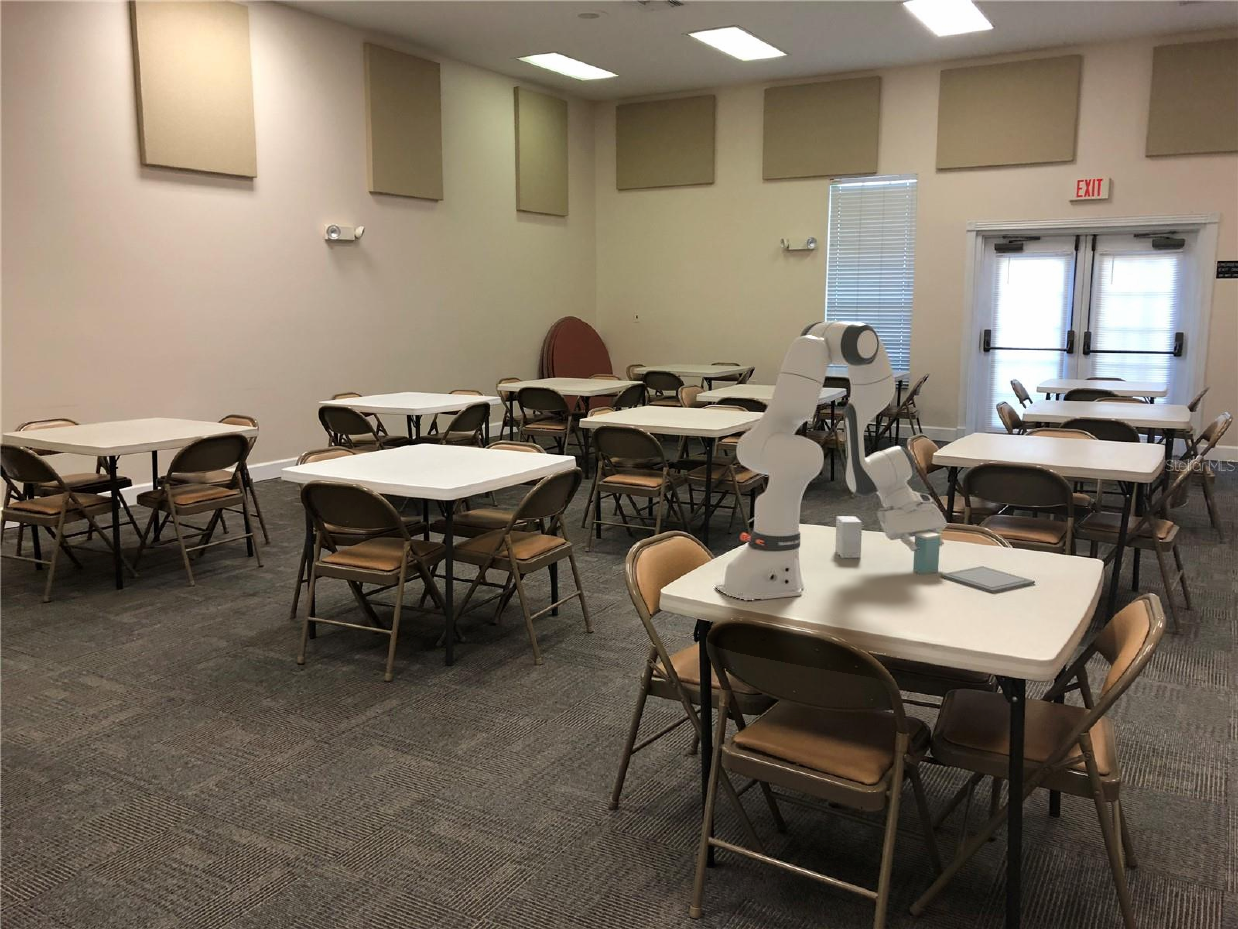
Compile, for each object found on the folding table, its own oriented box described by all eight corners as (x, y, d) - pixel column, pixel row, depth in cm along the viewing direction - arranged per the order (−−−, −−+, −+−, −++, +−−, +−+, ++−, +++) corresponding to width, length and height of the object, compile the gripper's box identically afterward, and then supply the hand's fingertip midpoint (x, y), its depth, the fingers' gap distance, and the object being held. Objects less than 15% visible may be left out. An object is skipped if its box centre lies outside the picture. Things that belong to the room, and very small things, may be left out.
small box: (860, 558, 253) (862, 522, 251) (841, 558, 253) (842, 522, 251) (854, 551, 261) (855, 515, 259) (834, 551, 261) (836, 515, 259)
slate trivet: (992, 593, 221) (993, 589, 220) (940, 577, 234) (941, 573, 234) (1034, 584, 228) (1035, 580, 228) (982, 569, 242) (982, 565, 242)
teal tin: (924, 574, 237) (926, 537, 235) (912, 570, 241) (914, 533, 239) (938, 571, 239) (940, 534, 238) (926, 568, 243) (928, 531, 241)
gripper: (880, 502, 238) (907, 546, 231) (934, 495, 248) (961, 536, 241) (867, 515, 243) (893, 559, 236) (921, 508, 253) (947, 549, 246)
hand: (928, 547), depth 239 cm, fingers open, 8 cm apart
